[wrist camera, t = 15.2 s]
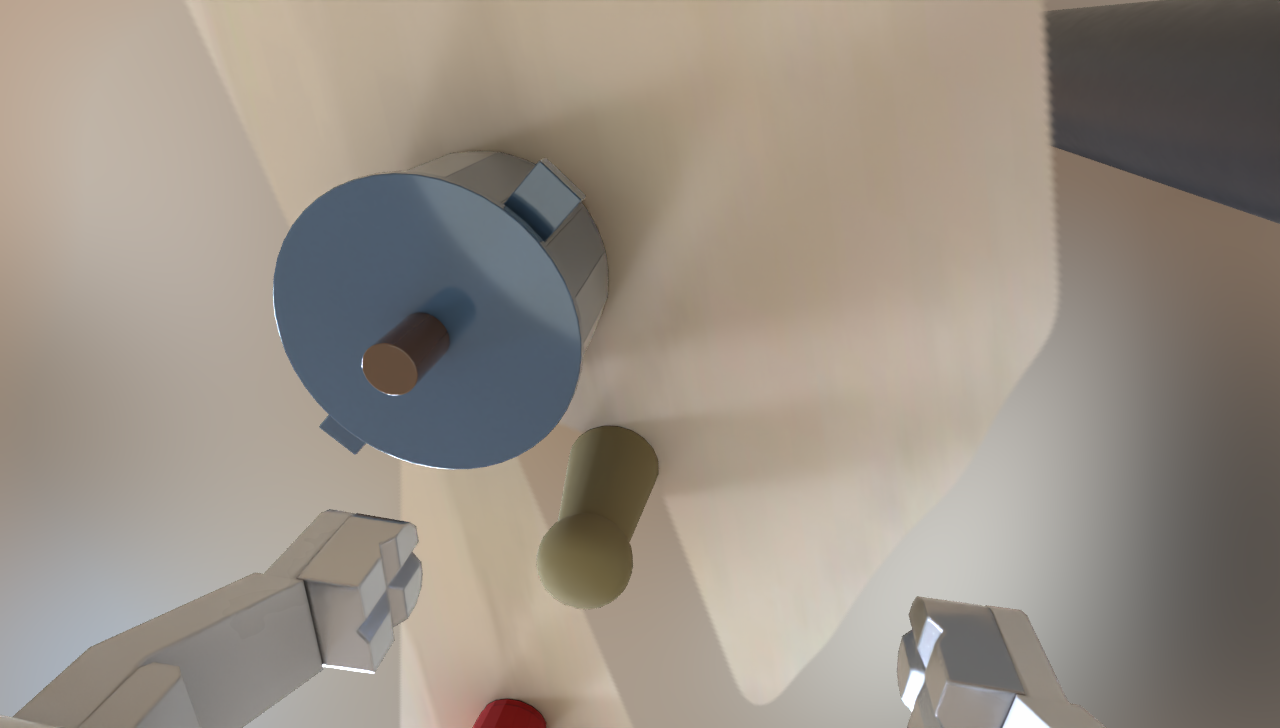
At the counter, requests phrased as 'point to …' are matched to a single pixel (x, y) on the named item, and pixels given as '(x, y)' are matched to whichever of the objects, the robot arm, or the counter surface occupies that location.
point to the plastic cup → (509, 715)
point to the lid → (428, 319)
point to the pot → (548, 212)
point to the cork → (597, 518)
